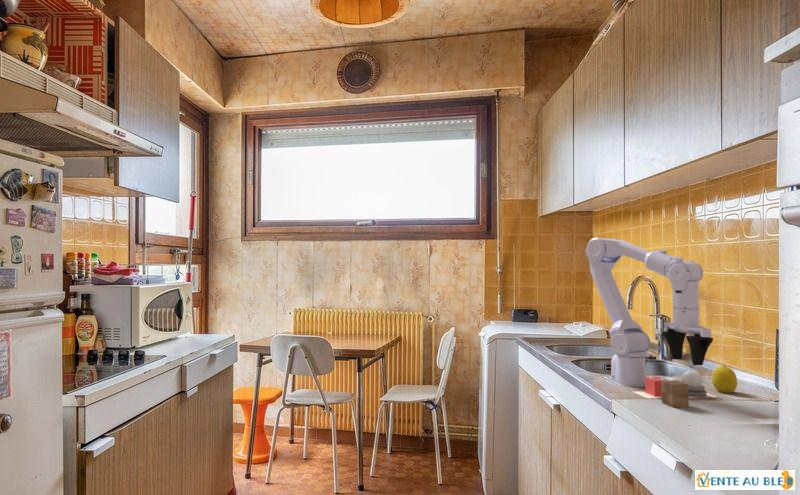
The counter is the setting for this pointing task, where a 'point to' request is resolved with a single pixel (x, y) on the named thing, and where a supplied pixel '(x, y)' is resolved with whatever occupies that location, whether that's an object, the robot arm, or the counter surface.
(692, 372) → the dome
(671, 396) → the brown block
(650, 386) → the die
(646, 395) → the game board
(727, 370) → the lemon
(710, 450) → the counter surface
